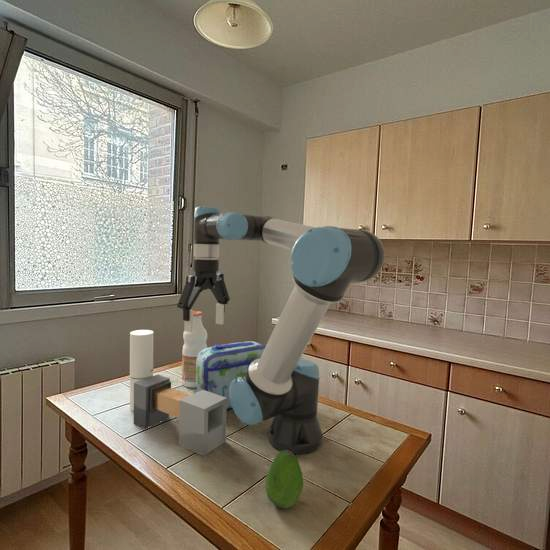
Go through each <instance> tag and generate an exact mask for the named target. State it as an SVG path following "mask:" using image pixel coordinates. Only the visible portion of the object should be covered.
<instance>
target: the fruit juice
mask: <svg viewBox="0 0 550 550" xmlns="http://www.w3.org/2000/svg"><path fill="white" fill-rule="evenodd" d="M202 317H203V312H202V311H199V310H198V311H197V310H196V311H195V310H193V332H186V331H184V330H183V333H182V335H183V336H182V338H183V342H184V343H183V345H182V352H181V353H182V356H181V357H182V359H181V362H182V363H181V364H182V366H181V367H182V369H181V384H182V386H184V387H185V388H191V389H194V388H195V389H196V360H197V356H198V354H199V353H200V352H201V351H202V350H203V349H205V348H208V344H207V340H208V332H207V331H208V330H207V329H206V328H205V327H204V325H203V321H202Z"/></svg>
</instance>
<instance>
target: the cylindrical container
mask: <svg viewBox="0 0 550 550" xmlns="http://www.w3.org/2000/svg"><path fill="white" fill-rule="evenodd" d="M152 376H154V330H151V329H137V330H132V331H130V332H129V410H130V411H131V412H134V383H135V382H137V381H140V380H143V379H146V378H149V377H152Z"/></svg>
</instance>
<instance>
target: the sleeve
mask: <svg viewBox="0 0 550 550" xmlns="http://www.w3.org/2000/svg"><path fill="white" fill-rule="evenodd" d="M227 410H228V409H227V398H226V397H223V396H220V395H217V394H214V393H211V392H208V391H205V390H201V391H199V392H197V393H196V392H195V393H192V394H190V396H188V397H185V398H183V399H181V400H180V413H179V418H178V420H179V421H178V422H179V427H178V445H179V446H181V447H183V448H185V449H187V450H189V451H191V452H193V453H195V454H198V455H200V456H202V457H204V456H206V455H209V453H211V452H212V451H214V450H216V449H217V448H218V447H220V446H222V445H224V443H226V442H227V438H226V437H227V413H228V412H227ZM225 441H226V442H225Z"/></svg>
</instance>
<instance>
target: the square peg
mask: <svg viewBox="0 0 550 550" xmlns="http://www.w3.org/2000/svg"><path fill="white" fill-rule="evenodd" d="M190 395H191V394H190V393H187V392H184V391H181V390H178V389H176V388H173V387H172V381H171V380H170V381H167V382H165V383H162V384H159V385H157V386H154V387H151V388H149V413H153V412H156V411H158V410H160V411H162V412H164V413H167V414H169V416H172V417H174V418H176V419H179V413H180V400H181V399H183V398H185V397H188V396H190Z"/></svg>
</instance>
